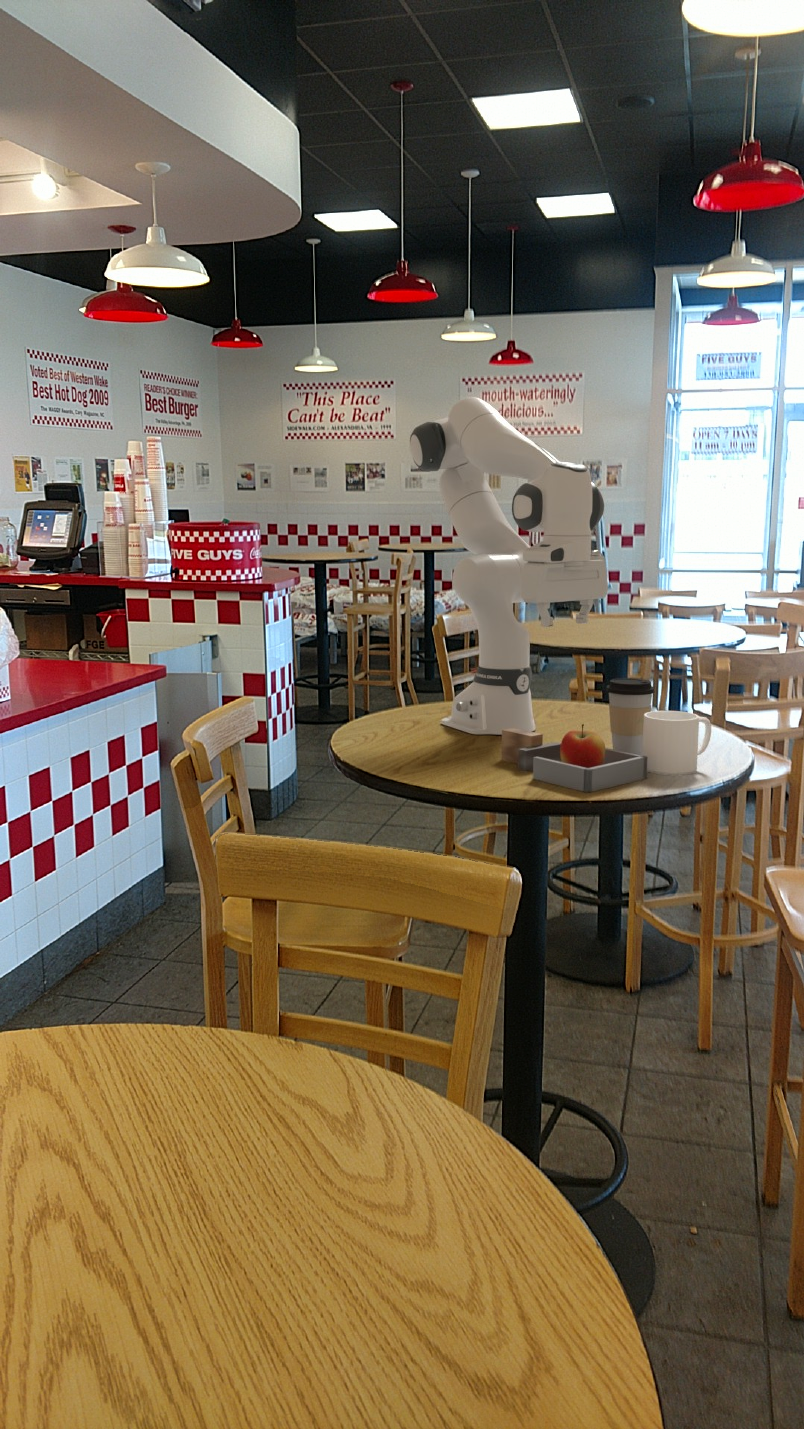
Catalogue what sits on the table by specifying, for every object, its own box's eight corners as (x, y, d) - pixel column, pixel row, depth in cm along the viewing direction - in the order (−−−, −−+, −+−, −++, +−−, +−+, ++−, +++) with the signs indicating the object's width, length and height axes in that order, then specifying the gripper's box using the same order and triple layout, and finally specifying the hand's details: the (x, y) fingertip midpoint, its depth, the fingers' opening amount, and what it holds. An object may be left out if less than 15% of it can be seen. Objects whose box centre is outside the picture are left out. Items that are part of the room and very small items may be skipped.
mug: (650, 776, 195) (652, 721, 193) (635, 763, 205) (637, 711, 203) (717, 775, 196) (720, 720, 194) (700, 762, 206) (702, 710, 204)
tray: (532, 778, 193) (533, 757, 193) (591, 765, 203) (592, 745, 202) (587, 792, 183) (588, 770, 183) (646, 778, 193) (647, 756, 193)
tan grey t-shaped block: (488, 762, 206) (488, 732, 205) (524, 755, 213) (525, 725, 212) (525, 771, 199) (526, 740, 198) (562, 764, 205) (563, 733, 204)
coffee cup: (652, 762, 206) (655, 685, 203) (603, 760, 208) (605, 684, 205) (651, 751, 215) (654, 678, 212) (604, 749, 217) (606, 676, 214)
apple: (607, 773, 197) (609, 720, 195) (600, 783, 190) (602, 728, 188) (564, 770, 200) (565, 717, 198) (555, 780, 192) (557, 725, 190)
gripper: (592, 549, 208) (589, 620, 211) (516, 552, 196) (514, 627, 198) (617, 550, 203) (614, 622, 206) (540, 553, 191) (538, 630, 193)
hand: (564, 625), depth 202 cm, fingers open, 8 cm apart
